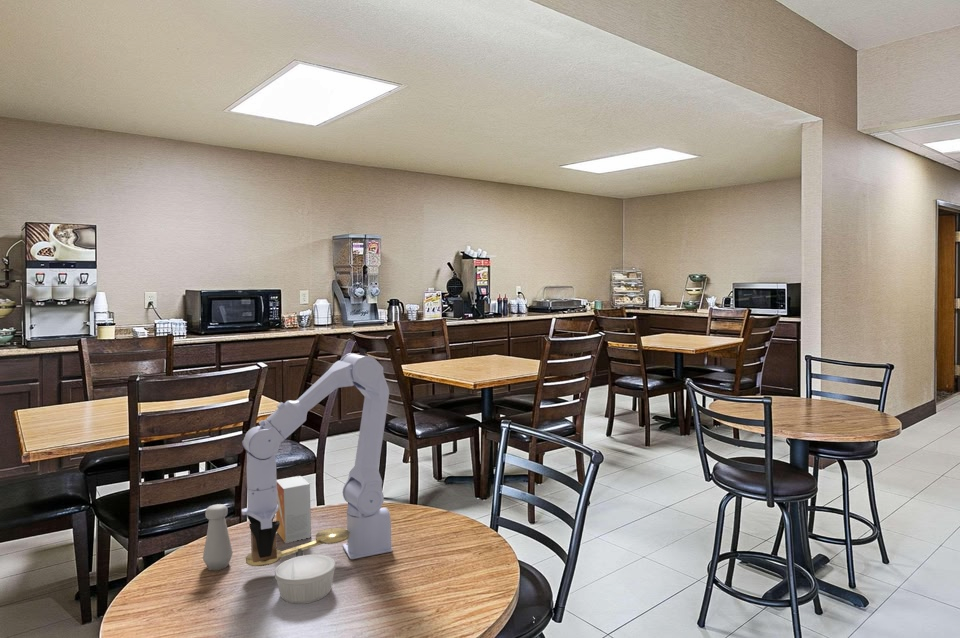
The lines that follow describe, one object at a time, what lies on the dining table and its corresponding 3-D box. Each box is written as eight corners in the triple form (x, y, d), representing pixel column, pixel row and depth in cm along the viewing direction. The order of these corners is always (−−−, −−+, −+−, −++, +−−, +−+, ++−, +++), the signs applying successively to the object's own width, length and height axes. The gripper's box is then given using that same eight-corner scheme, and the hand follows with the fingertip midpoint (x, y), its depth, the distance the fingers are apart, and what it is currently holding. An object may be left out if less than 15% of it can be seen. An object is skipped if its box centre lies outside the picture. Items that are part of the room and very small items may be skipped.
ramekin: (263, 595, 118) (263, 568, 117) (313, 574, 126) (312, 549, 126) (297, 614, 111) (296, 585, 110) (347, 590, 119) (346, 564, 119)
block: (274, 549, 128) (273, 526, 128) (276, 558, 124) (276, 533, 124) (251, 553, 127) (250, 530, 126) (253, 562, 122) (252, 537, 122)
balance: (345, 552, 136) (345, 525, 136) (353, 565, 130) (352, 537, 130) (245, 571, 127) (244, 543, 127) (247, 586, 121) (246, 556, 121)
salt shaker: (222, 573, 127) (220, 511, 126) (197, 571, 128) (195, 510, 127) (238, 561, 132) (236, 502, 132) (214, 559, 134) (212, 500, 133)
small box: (276, 532, 148) (274, 479, 148) (302, 527, 152) (301, 475, 151) (284, 544, 141) (283, 488, 141) (312, 538, 145) (310, 483, 144)
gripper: (238, 479, 130) (240, 542, 130) (243, 499, 117) (245, 569, 117) (273, 474, 133) (275, 536, 133) (282, 494, 120) (284, 562, 120)
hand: (263, 551), depth 125 cm, fingers closed on block, 4 cm apart
